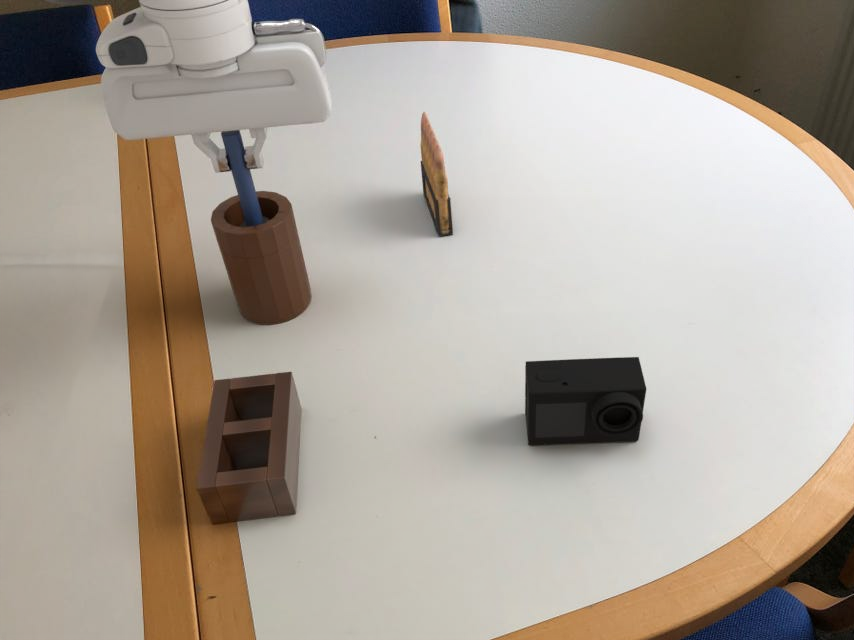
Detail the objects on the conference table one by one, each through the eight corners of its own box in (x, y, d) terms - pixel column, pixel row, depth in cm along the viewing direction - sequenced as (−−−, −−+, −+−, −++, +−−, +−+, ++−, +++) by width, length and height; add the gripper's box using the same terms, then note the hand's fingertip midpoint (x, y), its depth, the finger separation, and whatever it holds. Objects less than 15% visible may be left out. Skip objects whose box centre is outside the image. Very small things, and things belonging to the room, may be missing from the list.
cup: (235, 328, 87) (206, 237, 79) (242, 283, 93) (216, 194, 85) (310, 320, 88) (289, 229, 80) (312, 276, 94) (292, 187, 86)
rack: (212, 524, 68) (195, 488, 65) (227, 416, 78) (214, 379, 74) (296, 514, 69) (284, 478, 65) (301, 407, 78) (291, 371, 75)
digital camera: (527, 456, 73) (528, 403, 68) (524, 412, 77) (524, 360, 72) (641, 451, 73) (649, 398, 68) (631, 408, 77) (639, 355, 72)
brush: (250, 276, 86) (211, 141, 75) (253, 259, 88) (215, 125, 78) (280, 273, 86) (245, 137, 75) (282, 256, 89) (248, 122, 78)
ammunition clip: (423, 193, 107) (415, 109, 99) (436, 191, 107) (429, 107, 99) (438, 237, 99) (431, 149, 91) (453, 234, 99) (447, 147, 91)
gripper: (321, 4, 73) (344, 143, 82) (92, 23, 71) (142, 162, 81) (319, 30, 68) (344, 173, 78) (75, 50, 67) (130, 194, 76)
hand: (239, 167), depth 79 cm, fingers closed on brush, 2 cm apart
